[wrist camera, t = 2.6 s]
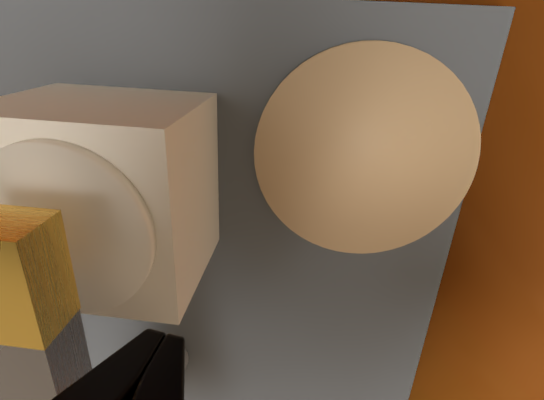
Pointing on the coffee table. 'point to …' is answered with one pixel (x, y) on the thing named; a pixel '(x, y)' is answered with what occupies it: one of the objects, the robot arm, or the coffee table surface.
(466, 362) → the coffee table surface
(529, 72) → the coffee table surface
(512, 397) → the coffee table surface
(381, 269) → the board
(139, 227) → the beige cube
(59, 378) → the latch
